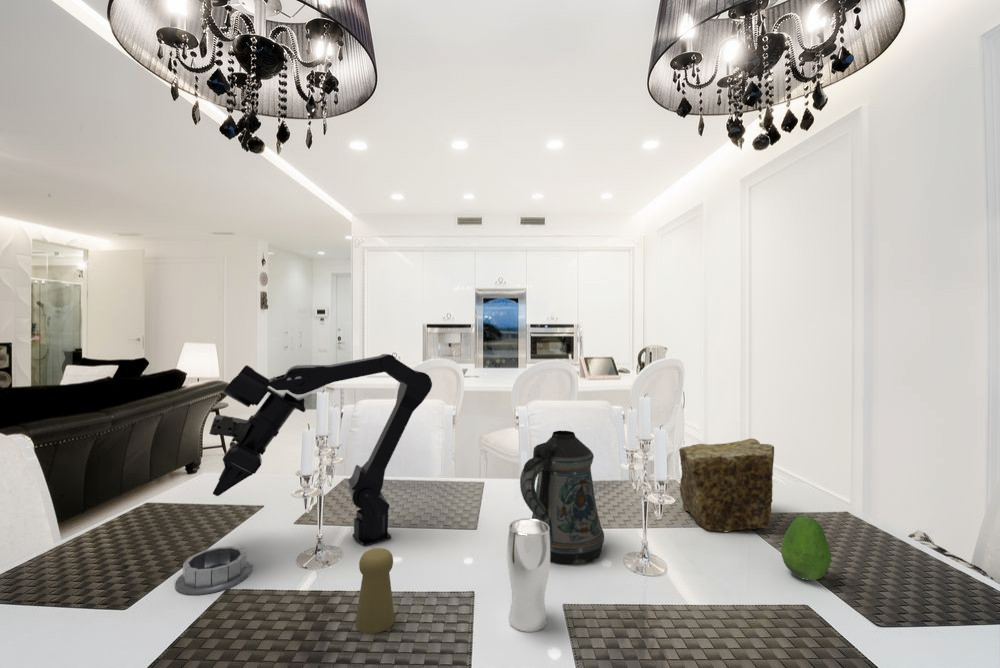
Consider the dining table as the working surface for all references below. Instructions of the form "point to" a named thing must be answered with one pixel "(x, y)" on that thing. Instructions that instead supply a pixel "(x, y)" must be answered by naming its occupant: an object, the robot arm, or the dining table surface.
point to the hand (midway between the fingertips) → (218, 487)
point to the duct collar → (213, 571)
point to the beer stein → (564, 498)
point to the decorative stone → (728, 484)
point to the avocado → (806, 549)
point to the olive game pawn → (375, 592)
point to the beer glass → (528, 572)
